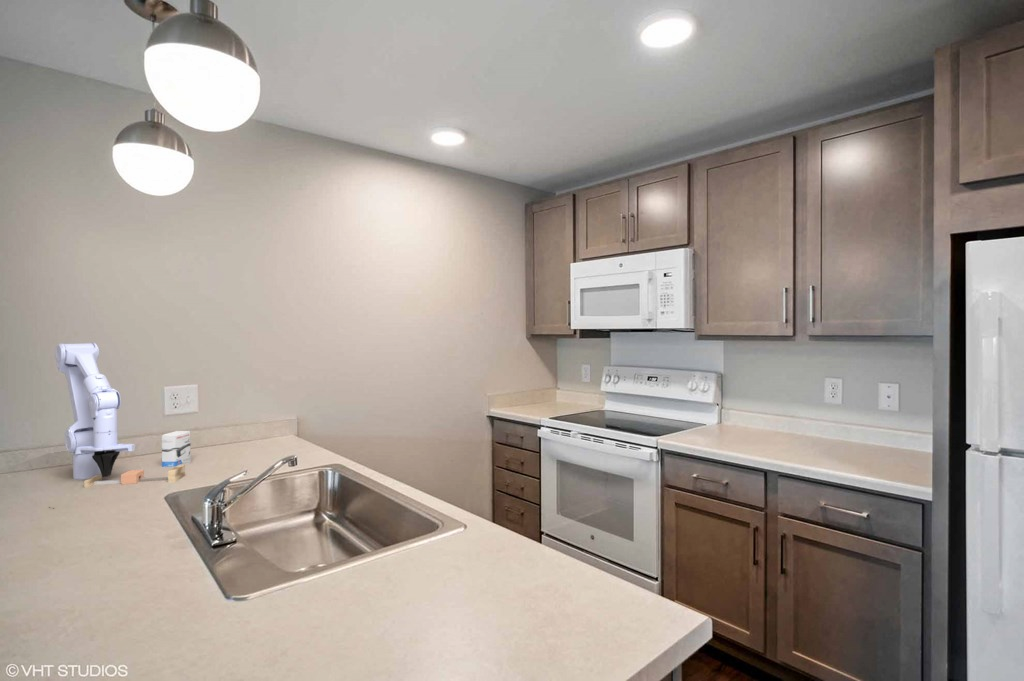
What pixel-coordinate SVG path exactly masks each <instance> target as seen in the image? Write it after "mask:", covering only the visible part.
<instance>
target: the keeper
mask: <svg viewBox="0 0 1024 681" xmlns="http://www.w3.org/2000/svg"><path fill="white" fill-rule="evenodd" d="M139 478H145V469H131V470H128V471H126V472H124V473H122V474H120V479H121V483H120V485H131V484H132V485H133V484H137V483H140V482H139Z"/></svg>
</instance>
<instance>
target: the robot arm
mask: <svg viewBox="0 0 1024 681" xmlns="http://www.w3.org/2000/svg"><path fill="white" fill-rule="evenodd" d="M99 348H100V347H99V345H97V343H96V342H86V343H81V342H79V343H76V342H75V343H61V342H60V343H58V344H57V345H56V347H55V351H54V355H55V356H54V358H55V363H56V367H57V370H58V372H60V373H63V374H64V375H65V378H66V379H65V380H66V383H67V388H68V392H69V399H70V403H71V408H72V409H71V410H72V414H73V419H74V423H73V424H71V425H70V426H69V427H67V428H66V430H65V432H64V436H65V437H64V438H65V439H64V445H65V450H66V451H67V452H68V453H70V454H72V470H73V471H72V476H73V478H72V479H74V480H88V479H90V478H92V477H94V476H96V475H98V474H102V478H106V477H107V478H108V477H110V476H111V475H112V471H113V468H114V465H115V462H116V460H117V458H118V457H119V455H120V453H121V452H133V451H135V450H136V447H135V443H119V439H118V438H119V437H118V435H119V433H118V431H119V430H118V410H119V409H120V407H121V404H122V403H121V402H122V401H121V400H122V398H121V394H120V393H119V391H118V390H116V389H115V388H113V387H112V386H111V384H110V382H109V380H108V377H107V376H106V375H105V374H103V373H100V370H99V368H98V363H97V362H98V359H99V357H100V356H99V355H100V349H99Z"/></svg>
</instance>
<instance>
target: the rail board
mask: <svg viewBox="0 0 1024 681" xmlns="http://www.w3.org/2000/svg"><path fill="white" fill-rule="evenodd" d="M185 466H186V464H180V465H178V466H175V467H172V468H171V469H170V470H168V471H167V476H160V477H144V478H139V482H138V483H141V482H142V483H143V482H158V481H159V482H162V481H167V483H169V484H172V483H177V482H178V481H180V480H181V479H183V477H185V476H186V470H185V469H186V467H185ZM83 482H84V483H83V484H84V486H83V487H84V489H85V488H90V487H92V486H94V485H108V484H121V478H120V479H106V480H105V479H104V480H103V477H102V474H98V475H96V476H94V477H92V478H89V479H85V480H84V481H83Z"/></svg>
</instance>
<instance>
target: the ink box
mask: <svg viewBox="0 0 1024 681" xmlns="http://www.w3.org/2000/svg"><path fill="white" fill-rule="evenodd" d="M191 444H192V443H191V430H175V431H172V432H171V431H170V432H168V433H164V434H162V435H161V467H165V468H166V467H167V468H168V467H170V468H171V467H172V468H174V467H176V466H178V465H186V464H191V463H192V461H191V460H192V457H191V456H192V455H191V452H192V451H191V449H192V448H191V446H192V445H191Z"/></svg>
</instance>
